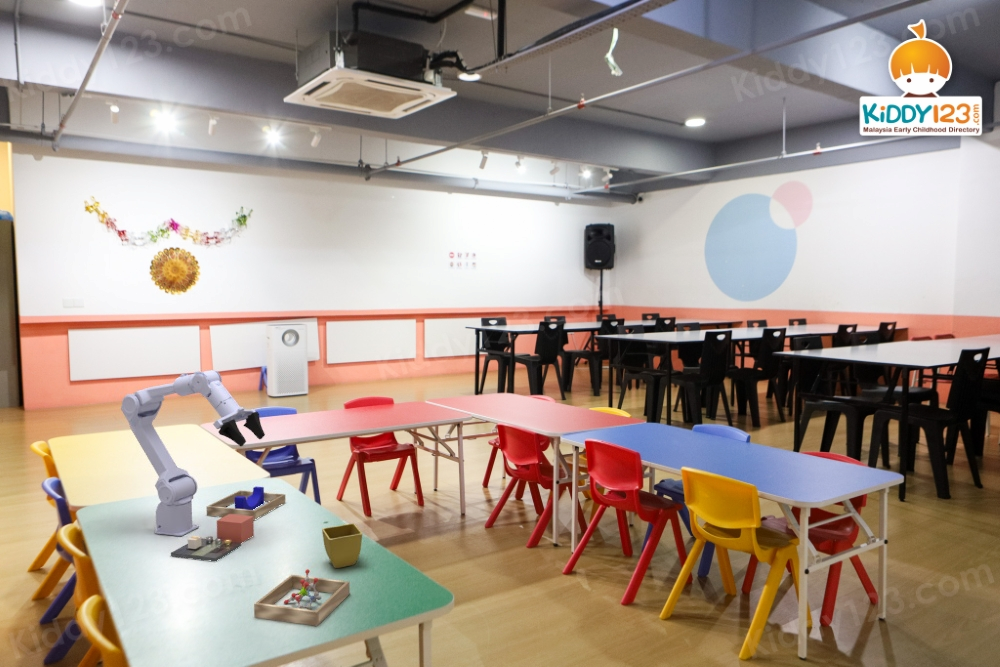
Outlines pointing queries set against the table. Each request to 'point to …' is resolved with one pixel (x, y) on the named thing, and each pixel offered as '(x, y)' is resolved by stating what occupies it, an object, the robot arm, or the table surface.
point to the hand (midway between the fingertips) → (253, 440)
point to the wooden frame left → (221, 511)
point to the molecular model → (305, 592)
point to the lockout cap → (235, 527)
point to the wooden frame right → (297, 615)
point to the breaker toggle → (194, 542)
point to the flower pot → (342, 544)
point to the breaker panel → (207, 549)
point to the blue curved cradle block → (250, 499)
